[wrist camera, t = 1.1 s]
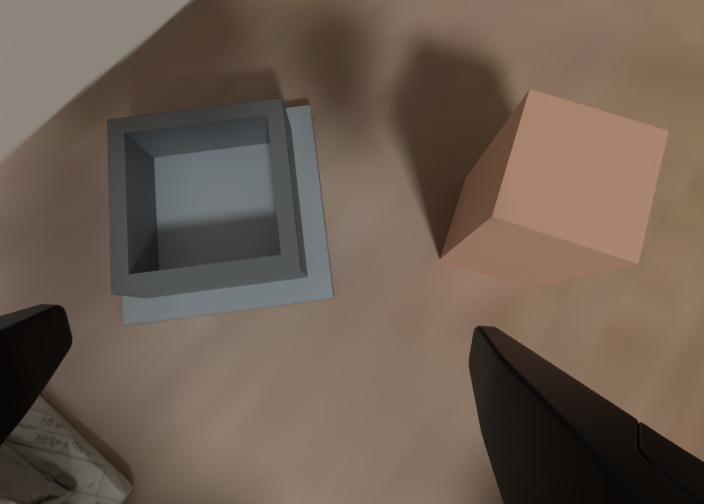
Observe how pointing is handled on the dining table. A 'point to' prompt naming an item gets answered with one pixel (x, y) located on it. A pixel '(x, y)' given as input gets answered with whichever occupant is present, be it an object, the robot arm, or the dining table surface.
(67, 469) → the packaged product
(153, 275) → the box
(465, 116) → the dining table surface
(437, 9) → the dining table surface
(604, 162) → the terracotta block
